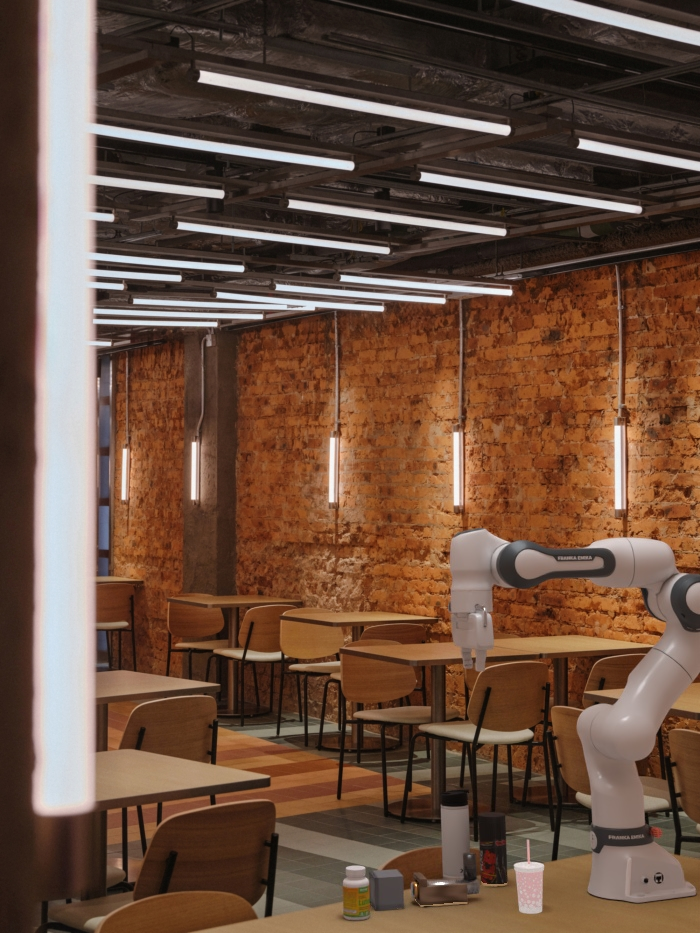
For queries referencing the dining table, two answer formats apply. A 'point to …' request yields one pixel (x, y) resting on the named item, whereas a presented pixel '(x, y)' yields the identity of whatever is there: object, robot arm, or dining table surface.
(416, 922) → the dining table surface
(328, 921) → the dining table surface
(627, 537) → the robot arm
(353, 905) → the supplement bottle
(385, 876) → the socket block
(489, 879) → the deodorant
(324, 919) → the dining table surface
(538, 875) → the beverage cup
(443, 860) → the travel mug
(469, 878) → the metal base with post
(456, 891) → the guide channel
